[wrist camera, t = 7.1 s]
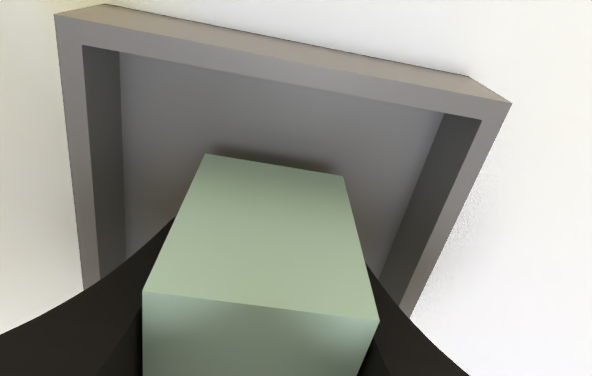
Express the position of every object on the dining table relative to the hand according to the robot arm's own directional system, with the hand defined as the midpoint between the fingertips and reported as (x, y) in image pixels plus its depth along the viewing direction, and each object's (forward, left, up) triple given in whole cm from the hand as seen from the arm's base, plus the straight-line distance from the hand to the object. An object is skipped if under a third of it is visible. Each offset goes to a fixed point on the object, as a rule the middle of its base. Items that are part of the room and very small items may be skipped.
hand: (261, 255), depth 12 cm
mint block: (0, 0, -2) cm, 2 cm away
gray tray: (0, 0, -4) cm, 4 cm away
